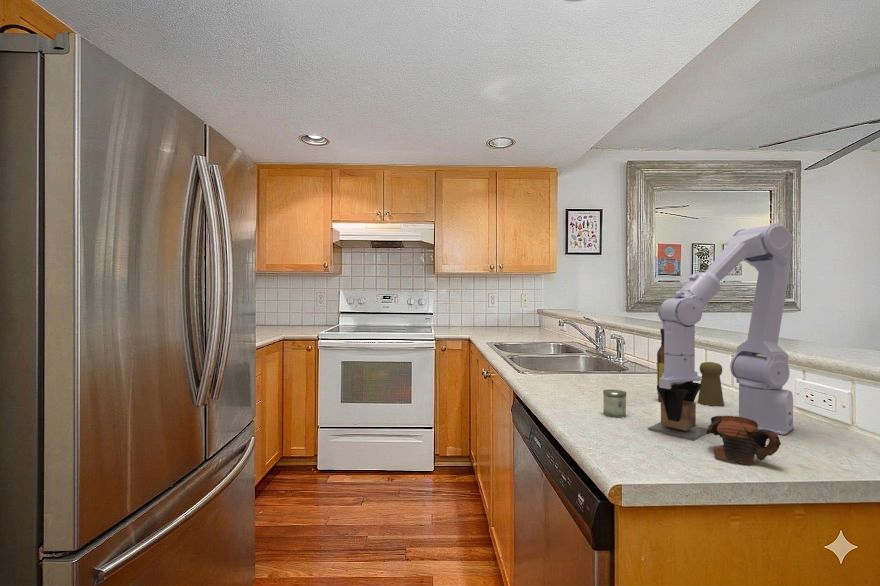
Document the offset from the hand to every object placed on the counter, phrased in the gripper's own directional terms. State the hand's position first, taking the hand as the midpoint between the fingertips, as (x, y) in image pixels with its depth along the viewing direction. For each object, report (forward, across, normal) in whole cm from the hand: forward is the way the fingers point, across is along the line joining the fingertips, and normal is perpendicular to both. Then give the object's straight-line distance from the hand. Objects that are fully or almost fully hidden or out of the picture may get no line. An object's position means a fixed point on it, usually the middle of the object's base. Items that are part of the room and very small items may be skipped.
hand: (679, 417), depth 93 cm
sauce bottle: (+3, +25, +12) cm, 28 cm away
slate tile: (+3, 0, 0) cm, 3 cm away
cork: (+3, +31, +4) cm, 31 cm away
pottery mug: (+3, -8, -14) cm, 16 cm away
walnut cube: (+2, 0, 0) cm, 2 cm away
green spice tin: (+3, +1, +15) cm, 15 cm away
